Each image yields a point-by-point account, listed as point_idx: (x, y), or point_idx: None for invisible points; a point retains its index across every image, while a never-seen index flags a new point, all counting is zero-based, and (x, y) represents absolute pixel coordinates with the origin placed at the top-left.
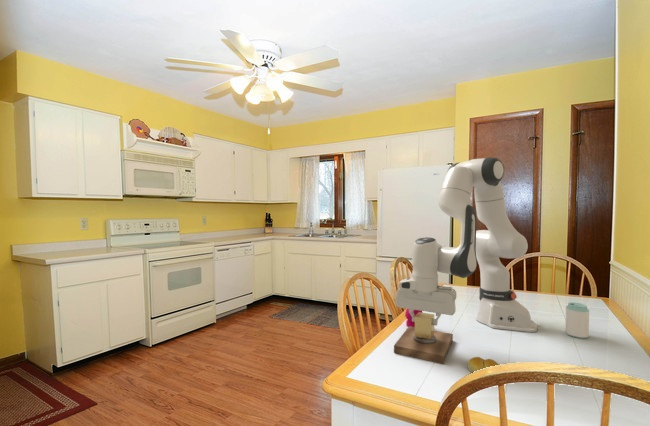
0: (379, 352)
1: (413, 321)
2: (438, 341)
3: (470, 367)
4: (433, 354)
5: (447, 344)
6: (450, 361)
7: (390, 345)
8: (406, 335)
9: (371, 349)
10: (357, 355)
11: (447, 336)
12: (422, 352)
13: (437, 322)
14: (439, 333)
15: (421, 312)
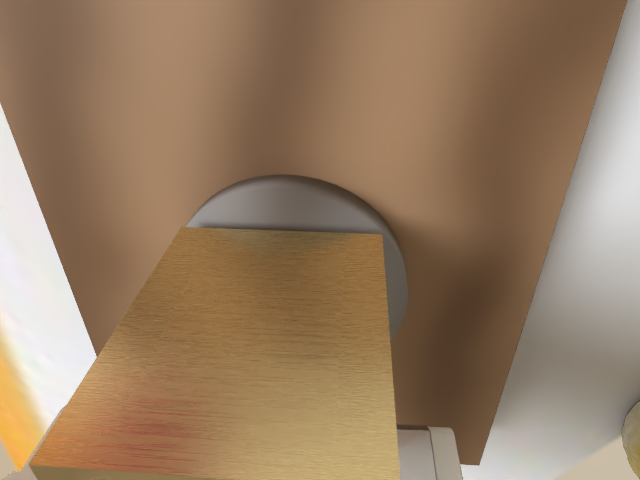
0: None
1: None
2: (432, 272)
3: (637, 475)
4: None
5: (523, 300)
6: (514, 379)
7: (68, 319)
8: (101, 260)
9: (18, 403)
10: (18, 468)
11: (548, 75)
12: None
13: (455, 457)
14: (433, 10)
15: (100, 474)
